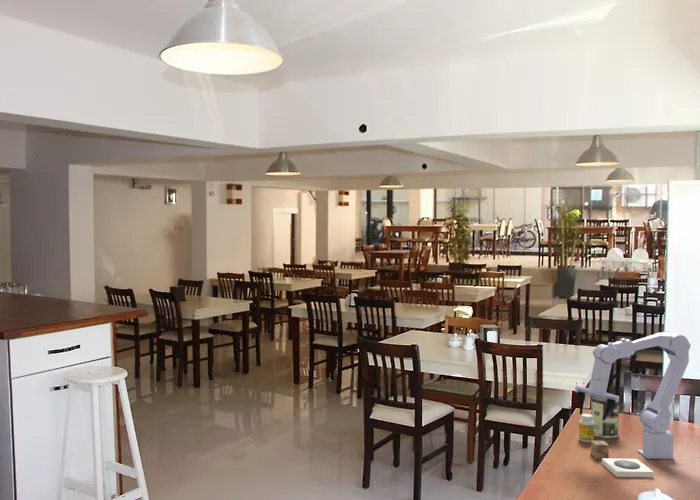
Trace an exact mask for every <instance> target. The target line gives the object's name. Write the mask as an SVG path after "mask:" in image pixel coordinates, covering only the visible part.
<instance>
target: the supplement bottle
mask: <svg viewBox="0 0 700 500" xmlns="http://www.w3.org/2000/svg"><path fill="white" fill-rule="evenodd" d="M580 418H581V419H579V422H578V439H579V441H581V442H584V443H591V441H595V439H594V438H595V435H594V422H593V421H592V415H591V413H582V415H581V414H580Z"/></svg>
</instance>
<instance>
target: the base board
mask: <svg viewBox="0 0 700 500" xmlns="http://www.w3.org/2000/svg"><path fill="white" fill-rule="evenodd" d="M601 464H602V465H603V466H604V467H605V468H606V469H607V470H608V471H609V472H610V473H611V474H613V475H614V477H616V478H654V476H655V475H654V474H655V473H654V470H652V469H651V468H650V467H648V466H647V465H645V463H643V462H642V461H640V459H638V458H612V457H611V458H602V459H601Z"/></svg>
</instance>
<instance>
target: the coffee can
mask: <svg viewBox="0 0 700 500" xmlns="http://www.w3.org/2000/svg"><path fill="white" fill-rule="evenodd" d="M599 396H600V395H599ZM590 400H591V401H590V407H591V408H590V415H592V421H593V422H594V437H597V438H598V437H599V438H604V439H605V438H606V439H615V438H618V437H619V413H620V411H619V409H620V406H619V405H620V400H619V401H618V402H615V404H614V406H613V407H612V408H611V409H610V411H609V412H608V414H607V416H606V418H605V421H604V420H603V419H602V418H603V414H604V410H605V405H606V400H607V399H604V398H600V397H596V396H592V395H591V396H590Z"/></svg>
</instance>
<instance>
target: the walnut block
mask: <svg viewBox="0 0 700 500" xmlns="http://www.w3.org/2000/svg"><path fill="white" fill-rule="evenodd" d="M609 449H610V445H609V444H608V443H607V442H606V441H604V440H594V441H591V442H590V456H592V457H593V458H594V459H595V460H602V458H609V454H610V453H609V452H610V450H609Z"/></svg>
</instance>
